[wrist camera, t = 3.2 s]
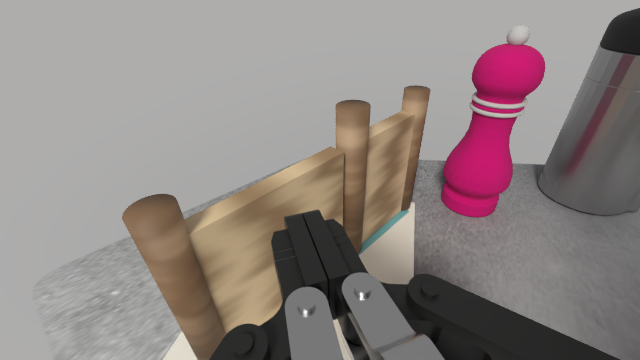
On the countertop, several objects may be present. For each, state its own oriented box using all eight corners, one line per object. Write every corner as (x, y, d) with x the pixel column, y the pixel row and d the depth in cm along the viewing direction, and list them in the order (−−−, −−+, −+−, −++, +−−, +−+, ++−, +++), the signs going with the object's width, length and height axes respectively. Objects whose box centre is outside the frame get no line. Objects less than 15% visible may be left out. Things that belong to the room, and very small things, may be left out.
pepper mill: (438, 181, 41) (474, 20, 30) (495, 190, 39) (557, 20, 28) (436, 213, 36) (479, 30, 25) (503, 226, 34) (584, 31, 23)
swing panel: (328, 249, 30) (325, 121, 22) (346, 262, 29) (349, 129, 21) (194, 355, 22) (115, 209, 14) (209, 380, 21) (131, 233, 13)
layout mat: (413, 206, 37) (414, 202, 37) (409, 448, 18) (411, 445, 18) (277, 188, 41) (277, 183, 41) (157, 366, 22) (154, 362, 22)
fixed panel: (350, 260, 29) (355, 114, 21) (331, 246, 31) (328, 106, 22) (414, 204, 36) (438, 78, 28) (396, 195, 37) (413, 73, 29)
